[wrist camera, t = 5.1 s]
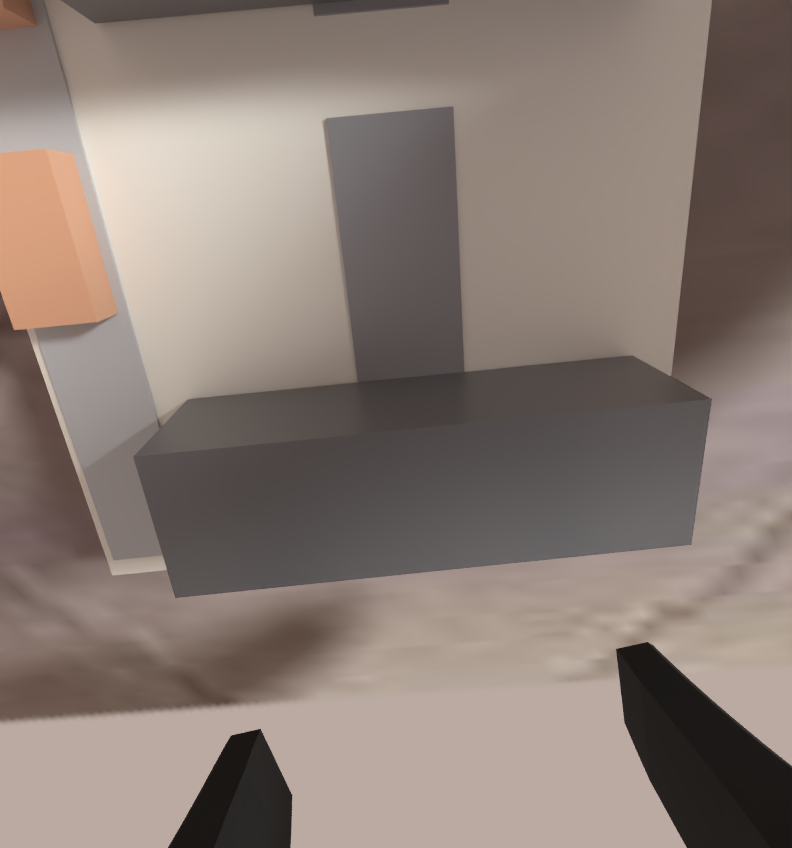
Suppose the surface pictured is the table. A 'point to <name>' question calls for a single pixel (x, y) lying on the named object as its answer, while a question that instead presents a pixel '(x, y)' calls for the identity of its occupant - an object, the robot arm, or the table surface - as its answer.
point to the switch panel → (334, 203)
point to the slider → (424, 474)
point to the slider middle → (170, 7)
